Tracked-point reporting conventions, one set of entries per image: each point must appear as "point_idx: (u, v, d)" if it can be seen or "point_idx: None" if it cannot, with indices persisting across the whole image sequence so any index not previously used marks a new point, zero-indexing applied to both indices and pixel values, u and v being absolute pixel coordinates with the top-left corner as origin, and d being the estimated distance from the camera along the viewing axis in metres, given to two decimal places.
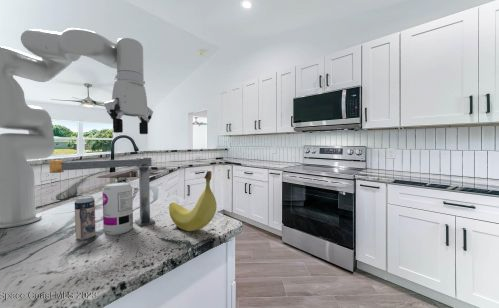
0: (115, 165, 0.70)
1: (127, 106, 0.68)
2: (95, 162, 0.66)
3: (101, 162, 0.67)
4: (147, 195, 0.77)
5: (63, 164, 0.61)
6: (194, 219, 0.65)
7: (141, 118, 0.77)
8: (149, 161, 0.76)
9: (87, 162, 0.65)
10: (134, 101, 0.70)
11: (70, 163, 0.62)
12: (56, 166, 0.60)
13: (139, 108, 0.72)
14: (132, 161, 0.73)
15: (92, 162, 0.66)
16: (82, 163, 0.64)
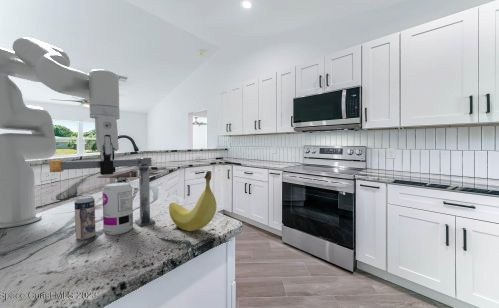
0: (114, 165, 0.71)
1: None
2: (94, 162, 0.67)
3: None
4: (147, 195, 0.77)
5: (62, 164, 0.62)
6: (194, 219, 0.65)
7: None
8: (148, 161, 0.76)
9: (86, 162, 0.66)
10: None
11: (69, 163, 0.63)
12: (55, 165, 0.61)
13: (97, 143, 0.64)
14: (131, 161, 0.74)
15: (91, 162, 0.67)
16: (81, 163, 0.65)
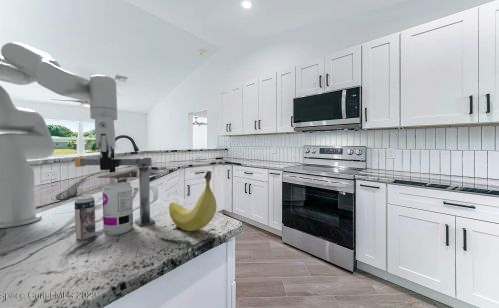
0: (116, 163, 0.76)
1: None
2: None
3: None
4: (147, 195, 0.77)
5: (81, 160, 0.77)
6: (194, 219, 0.65)
7: None
8: (143, 161, 0.75)
9: (96, 159, 0.77)
10: None
11: (85, 160, 0.77)
12: (76, 161, 0.77)
13: None
14: (130, 160, 0.76)
15: (99, 160, 0.77)
16: (92, 160, 0.77)
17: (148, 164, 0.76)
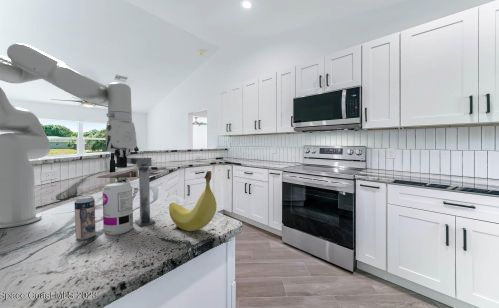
0: (131, 162, 0.83)
1: None
2: None
3: (127, 159, 0.85)
4: (147, 195, 0.77)
5: None
6: (194, 219, 0.65)
7: None
8: (138, 161, 0.75)
9: None
10: None
11: None
12: None
13: None
14: (135, 160, 0.79)
15: None
16: None
17: (143, 164, 0.75)
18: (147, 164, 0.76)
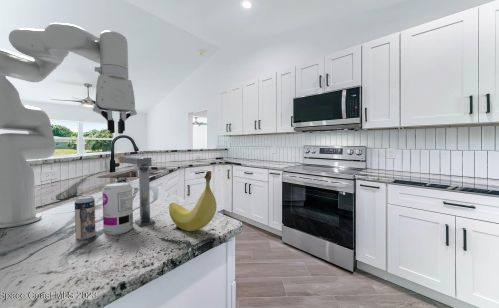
0: (131, 162, 0.83)
1: None
2: (126, 158, 0.86)
3: (127, 159, 0.85)
4: (147, 195, 0.77)
5: (119, 158, 0.91)
6: (194, 219, 0.65)
7: None
8: (138, 161, 0.75)
9: (124, 158, 0.87)
10: None
11: (121, 157, 0.90)
12: None
13: None
14: (135, 160, 0.79)
15: (125, 158, 0.87)
16: (123, 158, 0.88)
17: (143, 164, 0.75)
18: (147, 164, 0.76)
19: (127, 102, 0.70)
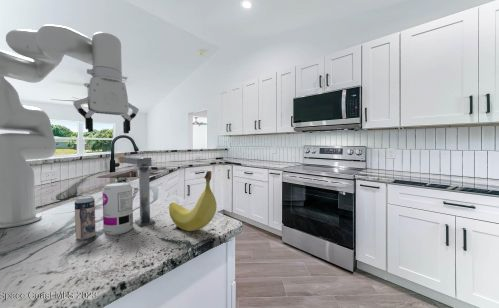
0: (131, 162, 0.83)
1: None
2: (126, 158, 0.86)
3: (127, 159, 0.85)
4: (147, 195, 0.77)
5: (119, 158, 0.91)
6: (194, 219, 0.65)
7: None
8: (138, 161, 0.75)
9: (124, 158, 0.87)
10: None
11: (121, 157, 0.90)
12: None
13: None
14: (135, 160, 0.79)
15: (125, 158, 0.87)
16: (123, 158, 0.88)
17: (143, 164, 0.75)
18: (147, 164, 0.76)
19: (120, 105, 0.68)
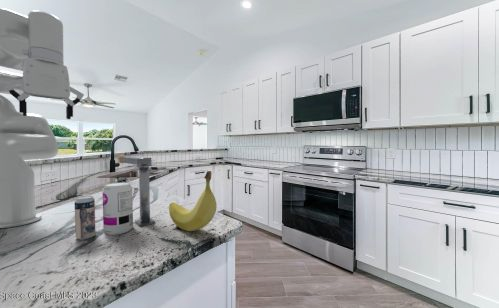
0: (131, 162, 0.83)
1: None
2: (126, 158, 0.86)
3: (127, 159, 0.85)
4: (147, 195, 0.77)
5: (119, 158, 0.91)
6: (194, 219, 0.65)
7: None
8: (138, 161, 0.75)
9: (124, 158, 0.87)
10: None
11: (121, 157, 0.90)
12: None
13: None
14: (135, 160, 0.79)
15: (125, 158, 0.87)
16: (123, 158, 0.88)
17: (143, 164, 0.75)
18: (147, 164, 0.76)
19: (60, 89, 0.65)
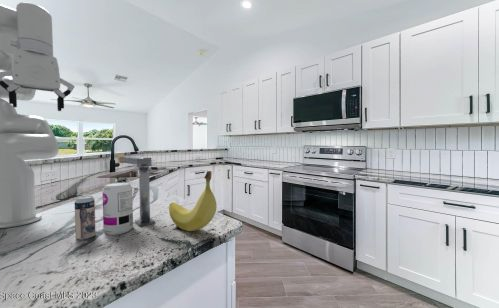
0: (131, 162, 0.83)
1: None
2: (126, 158, 0.86)
3: (127, 159, 0.85)
4: (147, 195, 0.77)
5: (119, 158, 0.91)
6: (194, 219, 0.65)
7: None
8: (138, 161, 0.75)
9: (124, 158, 0.87)
10: None
11: (121, 157, 0.90)
12: None
13: None
14: (135, 160, 0.79)
15: (125, 158, 0.87)
16: (123, 158, 0.88)
17: (143, 164, 0.75)
18: (147, 164, 0.76)
19: (49, 80, 0.66)
